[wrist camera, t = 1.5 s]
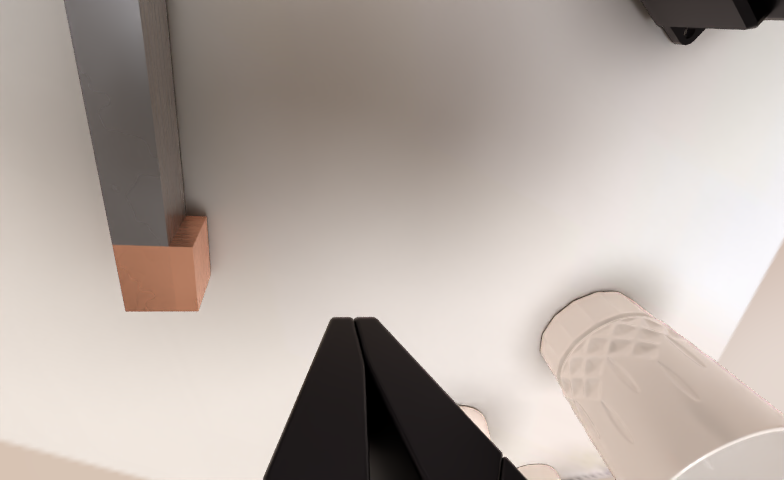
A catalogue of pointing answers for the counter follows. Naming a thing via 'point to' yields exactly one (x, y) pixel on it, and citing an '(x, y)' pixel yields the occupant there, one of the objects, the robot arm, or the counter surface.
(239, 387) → the counter surface
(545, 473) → the beige tall box
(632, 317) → the white cup
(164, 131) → the bar
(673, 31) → the robot arm
